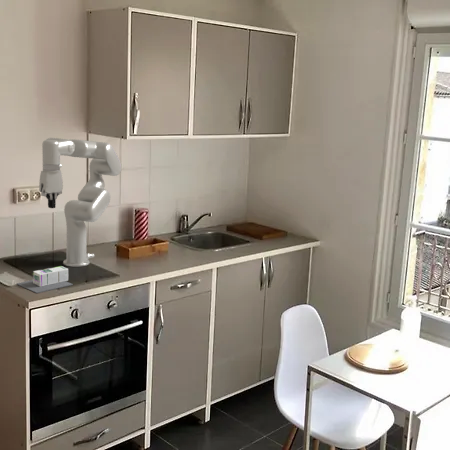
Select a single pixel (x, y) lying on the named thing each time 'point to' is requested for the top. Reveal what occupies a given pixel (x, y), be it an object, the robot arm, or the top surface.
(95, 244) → the top surface
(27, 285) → the mat
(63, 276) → the syrup box
